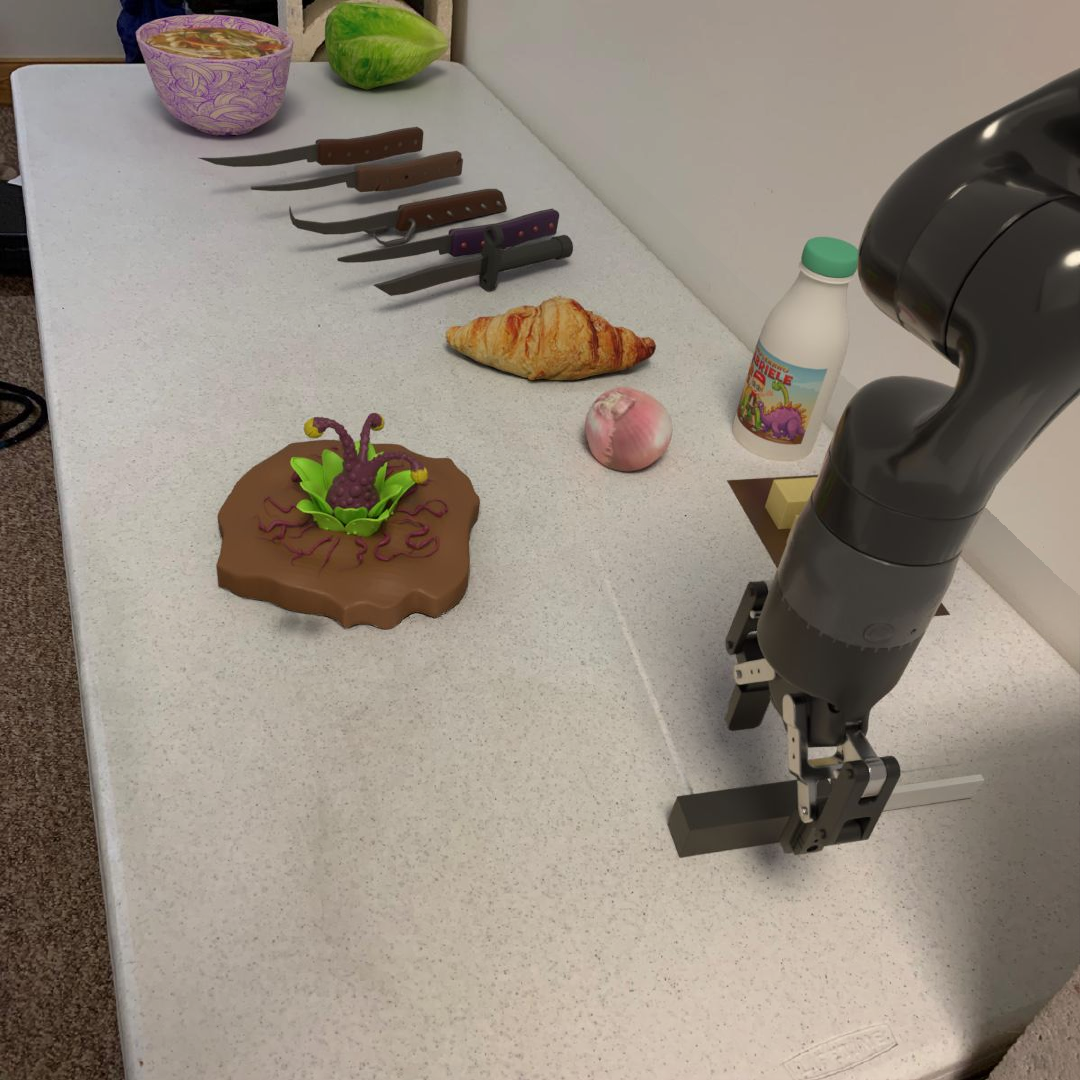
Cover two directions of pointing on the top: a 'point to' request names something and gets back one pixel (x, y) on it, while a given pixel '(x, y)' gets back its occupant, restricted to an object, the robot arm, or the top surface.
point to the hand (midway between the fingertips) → (767, 782)
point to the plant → (349, 529)
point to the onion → (627, 429)
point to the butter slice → (788, 499)
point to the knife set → (419, 210)
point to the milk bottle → (798, 356)
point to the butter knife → (777, 811)
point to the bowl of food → (217, 70)
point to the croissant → (550, 342)
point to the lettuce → (380, 43)
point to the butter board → (753, 503)
